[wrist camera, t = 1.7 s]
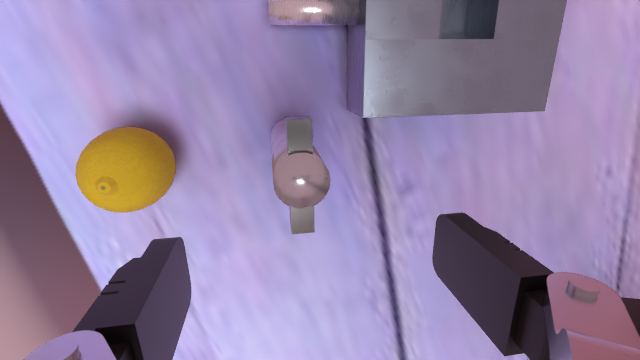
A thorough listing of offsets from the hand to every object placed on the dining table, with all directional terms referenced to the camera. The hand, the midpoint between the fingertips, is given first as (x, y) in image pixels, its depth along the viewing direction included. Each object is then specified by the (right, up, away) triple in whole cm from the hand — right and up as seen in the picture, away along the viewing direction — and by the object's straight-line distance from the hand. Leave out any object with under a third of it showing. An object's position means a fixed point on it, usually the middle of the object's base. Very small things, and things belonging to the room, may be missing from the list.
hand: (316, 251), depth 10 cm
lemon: (-14, +4, +16) cm, 21 cm away
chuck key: (-3, +6, +17) cm, 18 cm away
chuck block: (+6, +15, +15) cm, 22 cm away
